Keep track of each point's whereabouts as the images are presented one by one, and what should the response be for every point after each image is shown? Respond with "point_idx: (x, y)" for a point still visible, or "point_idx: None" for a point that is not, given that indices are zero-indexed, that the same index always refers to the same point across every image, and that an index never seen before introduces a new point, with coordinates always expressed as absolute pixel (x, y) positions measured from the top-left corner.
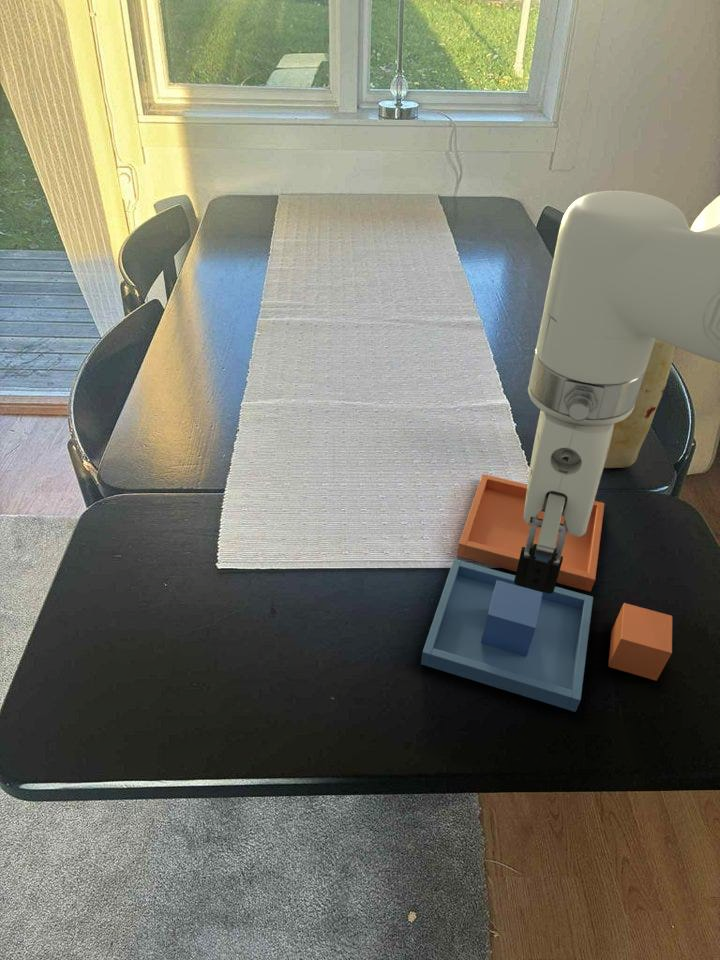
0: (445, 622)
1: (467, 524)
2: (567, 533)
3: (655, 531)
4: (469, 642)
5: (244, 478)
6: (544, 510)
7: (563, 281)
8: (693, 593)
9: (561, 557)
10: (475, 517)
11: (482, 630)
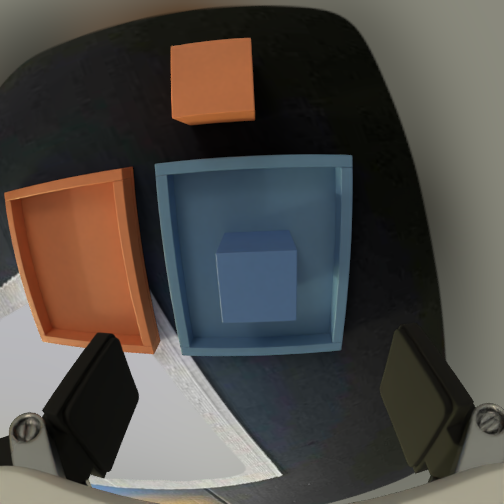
0: (274, 333)
1: None
2: (57, 221)
3: (17, 121)
4: None
5: (184, 483)
6: (131, 380)
7: None
8: (89, 50)
9: (460, 408)
10: None
11: None
